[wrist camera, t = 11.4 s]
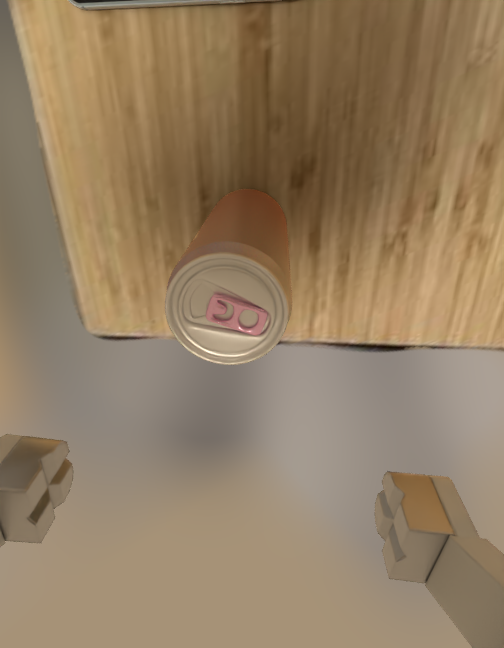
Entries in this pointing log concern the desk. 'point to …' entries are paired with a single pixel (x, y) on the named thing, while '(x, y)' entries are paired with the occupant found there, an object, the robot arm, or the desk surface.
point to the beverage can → (233, 282)
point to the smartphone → (146, 3)
